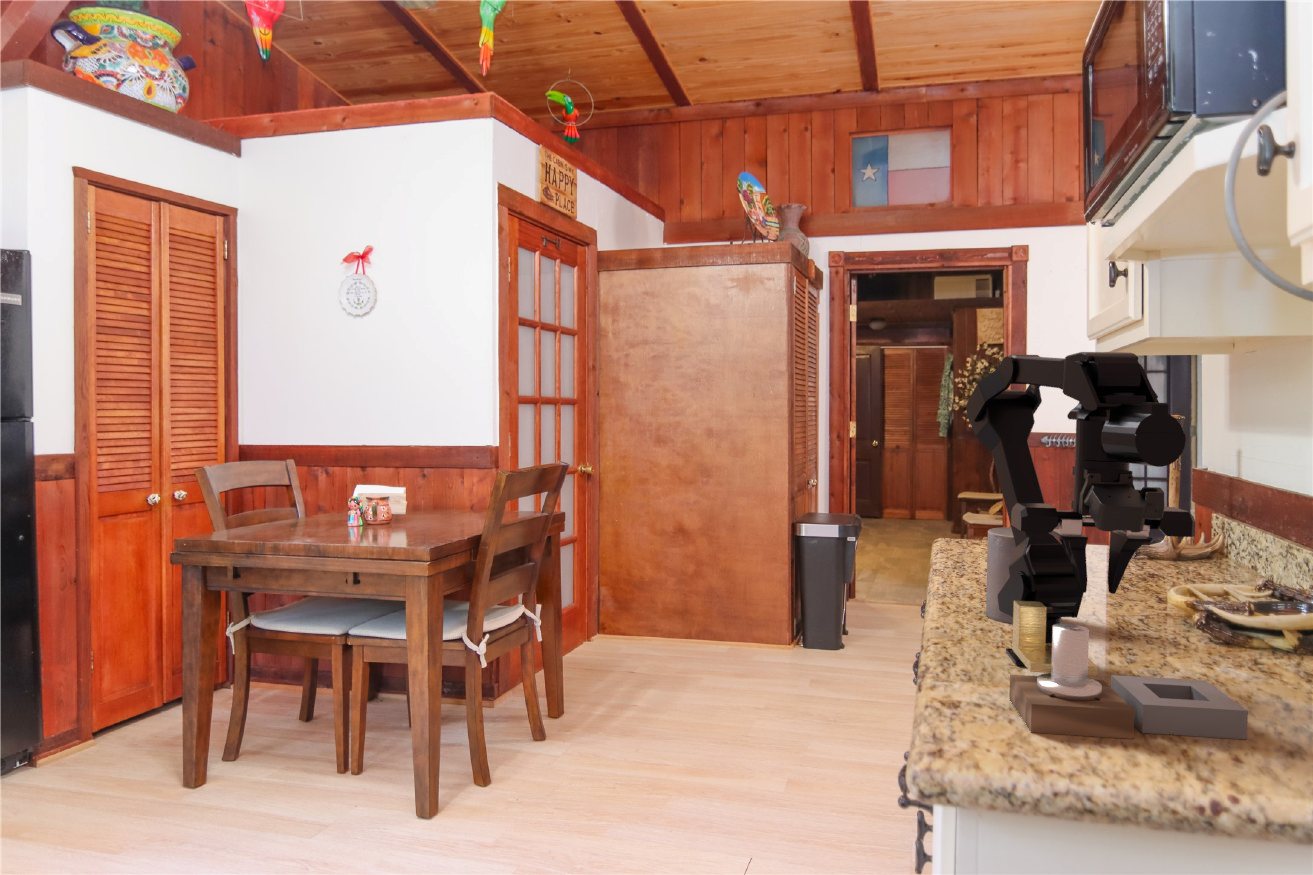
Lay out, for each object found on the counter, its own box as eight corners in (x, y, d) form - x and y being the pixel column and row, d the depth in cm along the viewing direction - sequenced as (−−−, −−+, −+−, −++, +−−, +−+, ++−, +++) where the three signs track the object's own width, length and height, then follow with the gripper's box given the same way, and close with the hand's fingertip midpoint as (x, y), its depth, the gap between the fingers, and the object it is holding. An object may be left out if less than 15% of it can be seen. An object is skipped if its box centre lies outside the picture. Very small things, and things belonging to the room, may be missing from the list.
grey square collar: (1110, 700, 104) (1111, 674, 104) (1204, 706, 103) (1205, 680, 103) (1142, 732, 95) (1143, 704, 94) (1246, 739, 93) (1247, 710, 93)
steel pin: (1029, 706, 102) (1032, 619, 102) (1090, 710, 101) (1092, 621, 101) (1044, 727, 96) (1047, 634, 95) (1109, 731, 95) (1112, 637, 94)
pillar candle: (1008, 607, 150) (1009, 517, 149) (1064, 619, 142) (1066, 524, 141) (973, 616, 144) (974, 522, 143) (1029, 629, 136) (1031, 530, 136)
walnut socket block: (1009, 700, 104) (1010, 674, 104) (1102, 705, 103) (1102, 679, 103) (1030, 732, 94) (1031, 703, 94) (1133, 738, 93) (1134, 710, 93)
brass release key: (1012, 649, 110) (1013, 600, 110) (1073, 652, 109) (1075, 603, 108) (1030, 671, 101) (1031, 618, 101) (1097, 675, 100) (1099, 621, 100)
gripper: (1034, 463, 99) (1030, 604, 100) (1220, 467, 96) (1214, 612, 97) (1011, 456, 110) (1008, 583, 111) (1177, 459, 107) (1172, 590, 108)
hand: (1097, 592), depth 106 cm, fingers open, 3 cm apart
